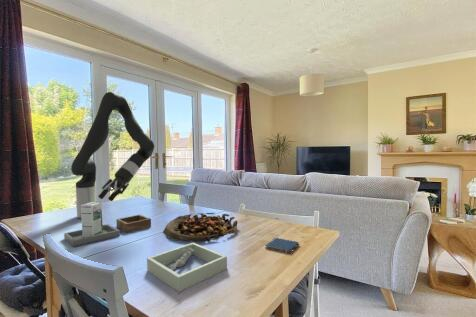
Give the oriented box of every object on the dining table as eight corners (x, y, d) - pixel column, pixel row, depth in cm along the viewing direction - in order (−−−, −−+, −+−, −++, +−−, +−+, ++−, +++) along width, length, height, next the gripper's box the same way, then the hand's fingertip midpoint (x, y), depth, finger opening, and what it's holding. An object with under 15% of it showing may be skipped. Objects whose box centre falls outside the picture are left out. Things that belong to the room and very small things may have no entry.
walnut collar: (116, 227, 127) (116, 219, 127) (140, 221, 136) (139, 214, 136) (126, 232, 119) (126, 224, 119) (151, 226, 128) (150, 218, 128)
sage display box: (147, 270, 82) (146, 258, 82) (193, 253, 95) (193, 242, 95) (178, 291, 70) (178, 277, 69) (227, 268, 83) (226, 256, 82)
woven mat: (290, 256, 93) (290, 250, 93) (264, 250, 98) (264, 244, 98) (300, 246, 101) (300, 241, 101) (275, 241, 107) (275, 236, 107)
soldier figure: (160, 274, 82) (177, 248, 92) (172, 283, 82) (188, 257, 93) (172, 262, 78) (188, 237, 89) (185, 272, 79) (199, 246, 89)
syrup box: (93, 238, 110) (92, 204, 109) (81, 237, 111) (80, 204, 111) (103, 234, 116) (102, 202, 115) (91, 233, 117) (90, 201, 116)
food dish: (246, 225, 132) (246, 210, 132) (220, 251, 101) (221, 231, 101) (186, 217, 144) (186, 204, 143) (147, 238, 113) (147, 221, 112)
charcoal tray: (64, 238, 112) (64, 233, 112) (108, 229, 125) (108, 224, 125) (73, 247, 102) (72, 241, 102) (119, 235, 115) (119, 230, 115)
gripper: (113, 166, 128) (90, 192, 119) (130, 167, 120) (107, 195, 111) (124, 175, 133) (102, 201, 124) (140, 177, 125) (119, 205, 116)
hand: (104, 199), depth 118 cm, fingers open, 8 cm apart
